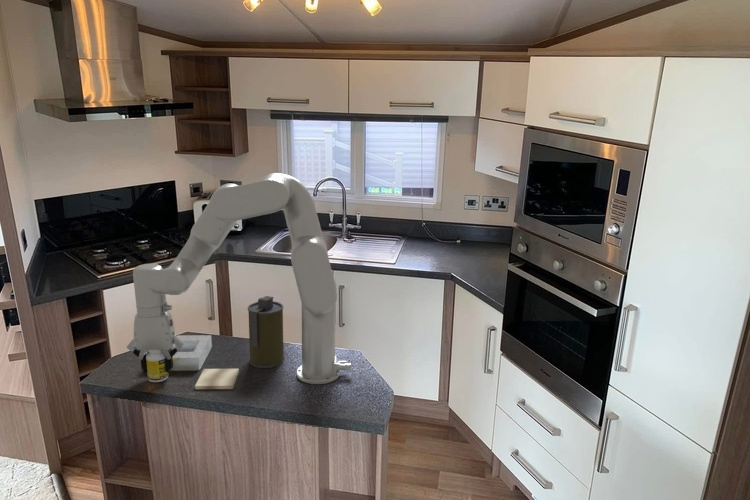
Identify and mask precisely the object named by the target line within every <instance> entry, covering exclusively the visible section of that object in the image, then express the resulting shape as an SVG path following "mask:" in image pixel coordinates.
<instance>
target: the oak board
mask: <svg viewBox="0 0 750 500" xmlns="http://www.w3.org/2000/svg"><path fill="white" fill-rule="evenodd" d="M239 373H240V368H203V369H202V371H201V374H200V375H199V377H198V379H197V381H196V383H195V385H194V389H195V390H234V387H235V384H236V381H237V378H238V376H239Z"/></svg>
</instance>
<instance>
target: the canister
mask: <svg viewBox="0 0 750 500" xmlns="http://www.w3.org/2000/svg"><path fill="white" fill-rule="evenodd" d="M283 310H284V305H283V304H282V303H281V302H279V301H275V300H274V296H269V295H265V296H263V297H260V298H259V297H258V299H257V301H255V302H253V303H250V304H249V305H248V306H247V311H248V331H249V332H248V336H249V338H248V339H249V361H248V362H249V364H250V365H251V366H252V367H255V368H258V369H270V368H274V367H275V368H276V367H277V366H280V365H282V364H283V363H284V362H285V357H284V354H285V353H284V313H283V312H284V311H283Z"/></svg>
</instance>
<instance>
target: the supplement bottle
mask: <svg viewBox="0 0 750 500" xmlns="http://www.w3.org/2000/svg"><path fill="white" fill-rule="evenodd" d="M147 352H148V353H146V354H147V355H146V363H147V372H146V373H147V374H146V375H147V380H148V381H149V382H151V383H161V382H165V381H166V380H167V379H168V378H169V373H167V372H166V367H165V359H166V355H165V353H164V351H163V350H147Z"/></svg>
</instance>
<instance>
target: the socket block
mask: <svg viewBox="0 0 750 500" xmlns="http://www.w3.org/2000/svg"><path fill="white" fill-rule="evenodd" d="M176 337H177V338H178V339H179V340H180V341H181V342H182V343H183V344H184V346H183V347H182V348H181V349H180V350H179V351H178V352H177V353H176V354H175V355H174V356H173V368H171V370H170V372H171V371H173V372H175V371H178V372H180V371H182V372H183V371H190V372H191V371H200V370H201V369H202V367H203V365H204V363H205V361H206V359H207V357H208V355H209V353H210V351H211V350H212V347H213V344H212V343H213V342H212V335H211V334H209V335H205V334H202V335H200V334H199V335H196V334H195V335H192V334H191V335H188V334H187V335H186V334H185V335H183V334H182V335H179V334H176ZM175 347H176V345H175V344H172V350H173V349H174V348H175Z"/></svg>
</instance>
